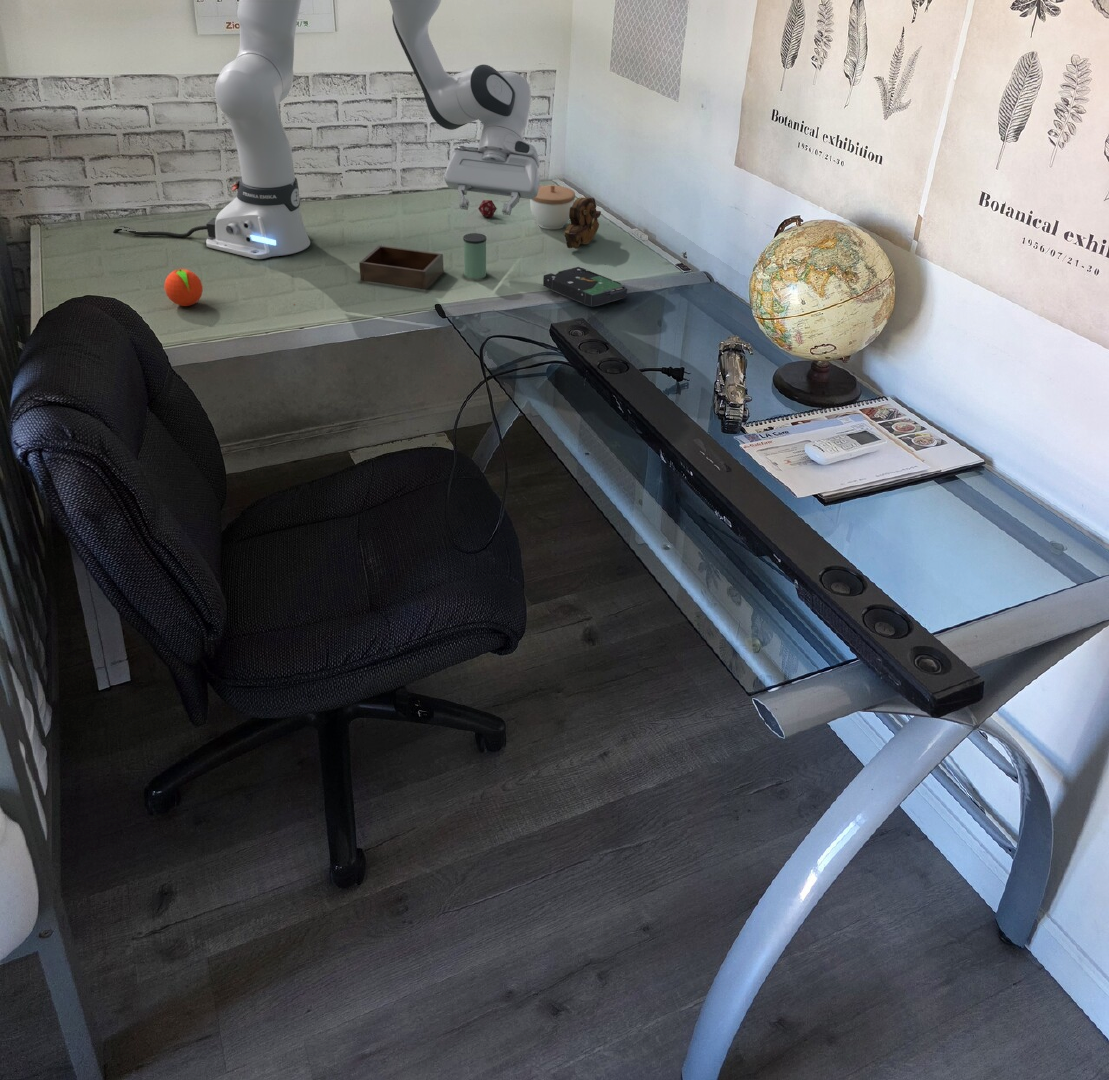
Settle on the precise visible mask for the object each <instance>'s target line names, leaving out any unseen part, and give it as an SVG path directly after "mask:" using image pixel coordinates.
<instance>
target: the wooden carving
mask: <svg viewBox="0 0 1109 1080" xmlns="http://www.w3.org/2000/svg"><path fill="white" fill-rule="evenodd" d="M601 215H602V211H601V210H597V203H596V199H595V198H594V197H589V196H585V197H582V196H581V197H577V198H575V199H574V203H573V205H572V207H570V212H569V218H570V219H569V221H570V224H568V225H567V226H566V228H565V230H564V234H563V235H564V238H565V242H566V248H568V249H578V248H579V246H580V245H587V244H590V242H591V241H593V239H594V238H595V236H596V235H597V232H598V230H599V226H600V223H599V220H598V219H599V218H600V217H601Z"/></svg>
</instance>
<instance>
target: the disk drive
mask: <svg viewBox="0 0 1109 1080" xmlns="http://www.w3.org/2000/svg"><path fill="white" fill-rule="evenodd" d="M542 286H543V287H545V288H546V289H548V290H550V291H552V292H554V293H557V294H559V295H562V296H564V297H566V298H569V299H571V300H573V301H576V302H578V303H581V304H582V305H585V306H588V307H593V308H594V307H597V306H601V305H604V304H608V303H611V302H615V301H619V300H622V299H625V298H627V295H628V288H627V286H626V285H625V284H623V283H621V282H619V281H616V280H613V279H611V278H609V277H607V276H604V275H601V274H599V273H597V272H593V271H591V270H588V269H587V268H583V267H580V266H576V267H572V268H568V269H564V270H559V271H557V273H548V274H547V273H546V274H544V275H543V281H542Z"/></svg>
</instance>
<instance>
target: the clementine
mask: <svg viewBox="0 0 1109 1080" xmlns="http://www.w3.org/2000/svg"><path fill="white" fill-rule="evenodd" d="M164 281H165V282H164V291H165V295H166V296H167V297H168V299H169V300H170V301H171V302H172V303H174V304H176V305H177V306H180V307H189V306H192V305H195V304H197V303H198V301H199V300H201V297H202V294H203V283H202V281H201V279H200V277H199V276H198V275H197V274H196V273H194V272H193V271H191V270H189V269H186V268H185V269H184V268H179V269H175V270H173V271H172V272H170V273H169V274H168V275H167V277H166V278H165V280H164Z"/></svg>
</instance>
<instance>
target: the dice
mask: <svg viewBox="0 0 1109 1080" xmlns="http://www.w3.org/2000/svg"><path fill="white" fill-rule="evenodd" d="M477 209H478V210H479V212H480V214H481V215H482V217H483V218H493V217H494V215H495V212H496V211H497V209H498V208H497V206H496V205H495V203H494V202H493V200H492V199H490V200H489V199H485V200H484V199H483V200H482V201H481V203H480V205H479V206H478V208H477Z"/></svg>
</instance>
